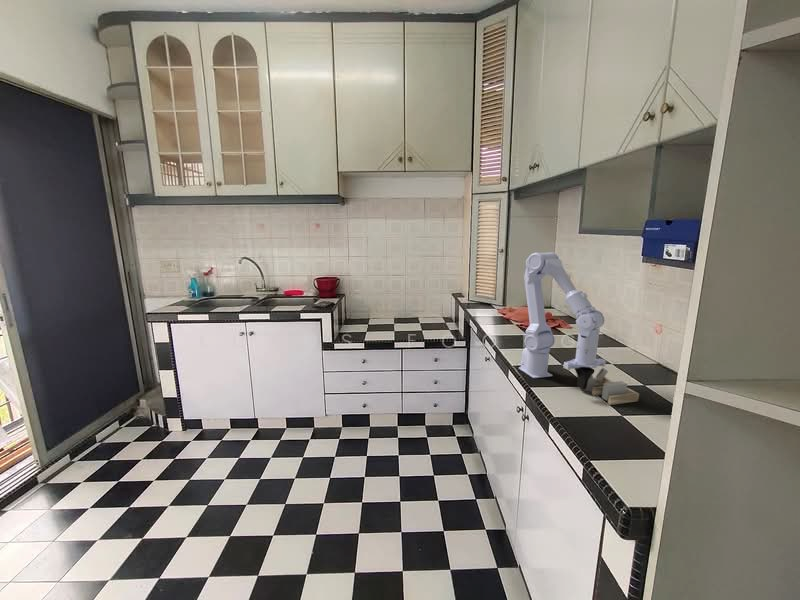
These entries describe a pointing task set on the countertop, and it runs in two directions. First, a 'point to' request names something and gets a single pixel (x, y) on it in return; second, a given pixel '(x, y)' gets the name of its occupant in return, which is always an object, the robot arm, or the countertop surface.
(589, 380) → the lighter
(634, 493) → the countertop surface
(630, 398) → the rack
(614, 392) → the grey block
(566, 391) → the countertop surface
